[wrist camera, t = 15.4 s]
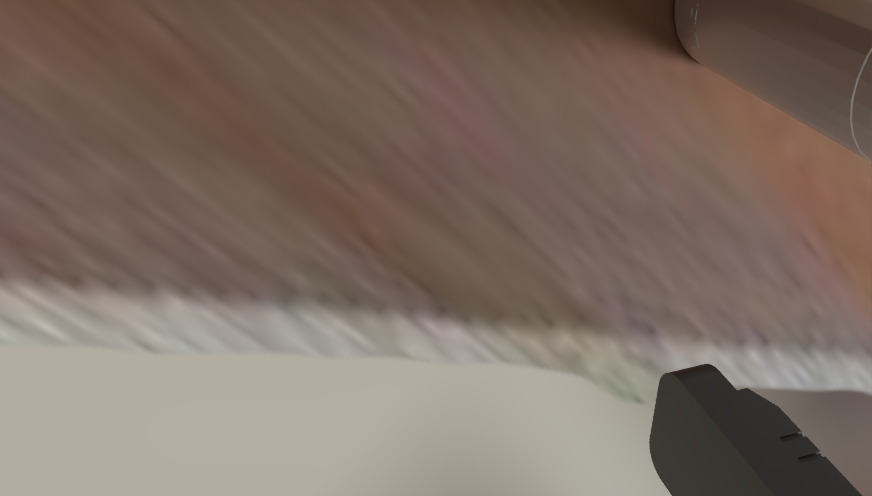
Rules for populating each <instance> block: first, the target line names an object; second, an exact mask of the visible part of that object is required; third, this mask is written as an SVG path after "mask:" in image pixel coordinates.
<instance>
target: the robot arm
mask: <svg viewBox="0 0 872 496" xmlns="http://www.w3.org/2000/svg"><path fill="white" fill-rule="evenodd" d="M675 24H676V30H677V34H678V37H679V39H680V41H681V44H682V46H683V48H684V49H685V50H686V51H687V53H688V54H689V55H690V56H691V57H692V58H693V59H695V60H696V61H698V62H699V63H700V64H702V65H704V66H706V67H707V68H709V69H711V70H712V71H714V72H716V73H718V74H719V75H721V76H723V77H725V78H726V79H728V80H730V81H732V82H733V83H735V84H736V85H738V86H740V87H741V88H743V89H745V90H747V91H748V92H750V93H752V94H754V95H755V96H757V97H759V98H761V99H762V100H764V101H766V102H768V103H769V104H771V105H773V106H775V107H776V108H778V109H780V110H781V111H783V112H785V113H787V114H788V115H790V116H792V117H794V118H795V119H797V120H799V121H801V122H802V123H804V124H806V125H808V126H809V127H811V128H813V129H815V130H816V131H818V132H820V133H822V134H823V135H825V136H827V137H829V138H830V139H832V140H834V141H836V142H837V143H839V144H841V145H843V146H844V147H846V148H848V149H850V150H851V151H853V152H855V153H857V154H858V155H860V156H862V157H863V158H865V159H867V160H869V161H871V162H872V0H675ZM649 443H650V453H651V458H652V461H653V464H654V467H655V469H656V471H657V473H658V475H659V477H660V479H661V480H662V482H663V483H664V485H665V486H666V488H667V489H668V490H669V492H670V493H671V495H672V496H862V495H861V494H860V493H859V492H858V491H857V490H856V489H855V488H854V487H853V486H852V485H851V484H850V482H849V481H848V480H847V479H846V478H845V477H844V476H843V475H842V474H841V473H840V472H839V471H838V470H837V469H836V467H835V466H834V465H833V464H832V463H831V462H830V461H829V460H828V459H827V458H826V457H822V456H821V453H820V451H819V450H818V448H817V447H816V446H815V445H814V444H813V443H812V442H811V441H810V440H809V439H808V438H807V437H806V436H805V437H803V436H802V431H800V429H799V428H798V427H797V426H796V425H795V424H794V423H793V422H792V421H791V420H790V419H789V417H788V416H787V415H786V414H785V413H784V412H783V411H782V410H781V409H780V408H779V407H778V406H776V405H775V404H773V403H771V402H769V401H768V400H766V399H765V398H763V397H761V396H760V395H758V394H756V393H755V392H753V391H751V390H750V389H748V388H745V389H741V390H736V389H735V388H734V387H733V386H732V384H731V383H730V382H729V381H728V380H727V379H726V378H725V377H724V376H723V374H722V373H721V372H720V371H719V370H718V369H717V368H716V367H714V366H712V365H710V364H703V365H699V366H695V367H691V368H686V369H682V370H678V371H674V372H670V373H665V374H664V375H663V376H662V377H661V379H660V382H659V387H658V393H657V398H656V404H655V410H654V416H653V422H652V428H651V434H650V442H649Z"/></svg>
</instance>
